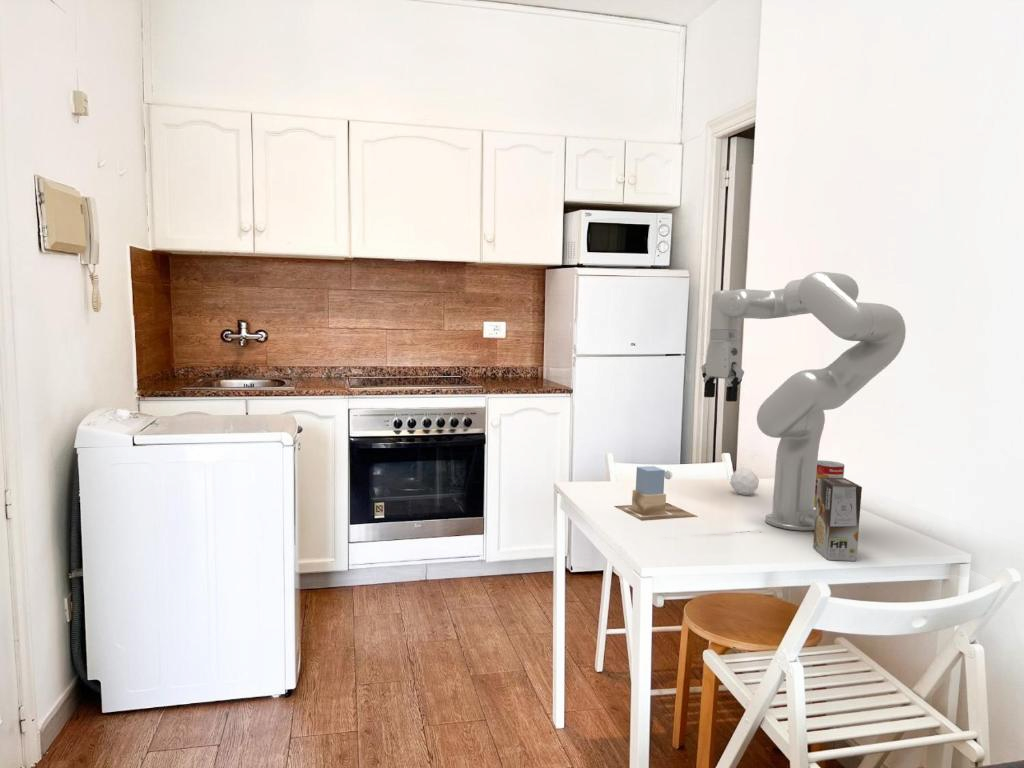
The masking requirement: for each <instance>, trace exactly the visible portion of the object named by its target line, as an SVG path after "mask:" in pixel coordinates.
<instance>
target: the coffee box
mask: <svg viewBox="0 0 1024 768" xmlns="http://www.w3.org/2000/svg"><path fill="white" fill-rule="evenodd" d="M862 490H863V487H862V486H861V485H859V484H857V483H856V482H853V481H852V480H849V479H847V478H845V477H843V478H832V477H826V478H824V477H818V483H817V498H816V507H815V510H816V514H815V528H814V530H813V531H814V533H813V545H812V548H813V549H814V550H815V551H817V552H818V553H819V554H820V555H821V556H823V557H824V558H825V559H826V560H829V561H846V562H856V561H857V556H858V555H857V554H858V545H859V544H858V543H859V542H858V541H859V530H860V516H861V504H862V492H863V491H862Z"/></svg>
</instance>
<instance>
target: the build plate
mask: <svg viewBox="0 0 1024 768" xmlns="http://www.w3.org/2000/svg"><path fill="white" fill-rule="evenodd" d="M613 507H614V508H616V509H618V510H620V511H622V512H624V513H626V514H628V515H630V516H632V517H634V518H635V519H637V520H639V521H641V522H642V521H643V522H644V521H657V520H659V521H660V520H670V519H671V520H673V519H683V518H684V519H686V518H687V519H688V518H698V517H699V516H698V515H695V514H694V513H691V512H689V511H687V510H684V509H682V508H680V507H678V506H675V505H673V504H671V503H670V502H666V505H665V514H658V515H642V514H640V513H638V512H636V511H634V510H632V504H628V505H627V504H626V505H624V504H623V505H613Z"/></svg>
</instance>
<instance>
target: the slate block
mask: <svg viewBox="0 0 1024 768" xmlns="http://www.w3.org/2000/svg"><path fill="white" fill-rule="evenodd" d="M665 472H666V470H665V469H663V468H660V467H658V466H655V465H650V466H649V465H647V466H646V465H645V466H636V476H635V477H636V478H635V490H636V491H638V492H640V493H643V494H645V495H654V494H665V493H664V491H665V477H666V476H665V474H666V473H665Z"/></svg>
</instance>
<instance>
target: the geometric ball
mask: <svg viewBox="0 0 1024 768" xmlns="http://www.w3.org/2000/svg"><path fill="white" fill-rule="evenodd" d="M730 477H731V478H730V486H731V488H732V489H733V491H735V493H737V494H738V493H739V494H738V495H742V496H746V495H747V496H749V495H752V494H753V493H754V492H756V490H757V489H758V488H759V482H760V480H759V478H758V475H757V474H756V473H755V472H754V470H752V469H751V468H745V467H742V468H739V469H736V470H735V471H734V472H733V473H732V474H731V475H730Z"/></svg>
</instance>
